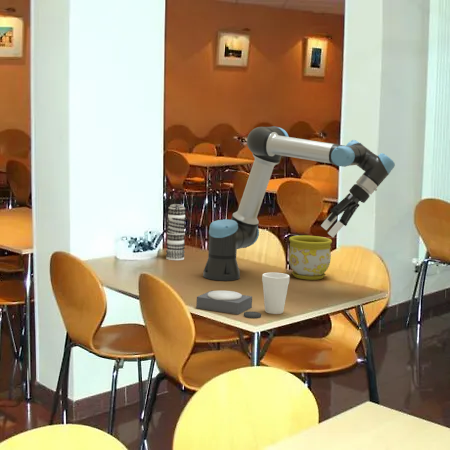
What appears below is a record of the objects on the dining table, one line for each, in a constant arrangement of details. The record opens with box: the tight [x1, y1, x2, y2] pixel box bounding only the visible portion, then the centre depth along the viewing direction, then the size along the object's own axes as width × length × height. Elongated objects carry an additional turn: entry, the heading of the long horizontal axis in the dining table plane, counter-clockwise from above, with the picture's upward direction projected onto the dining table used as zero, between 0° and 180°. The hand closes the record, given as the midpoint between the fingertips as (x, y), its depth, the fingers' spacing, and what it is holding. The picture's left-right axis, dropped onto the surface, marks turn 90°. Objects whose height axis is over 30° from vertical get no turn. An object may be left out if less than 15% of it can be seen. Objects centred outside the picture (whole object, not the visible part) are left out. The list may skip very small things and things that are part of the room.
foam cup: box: [261, 272, 291, 315], centre depth 287 cm, size 10×9×13 cm
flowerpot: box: [287, 235, 333, 281], centre depth 349 cm, size 18×18×16 cm
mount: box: [196, 290, 253, 315], centre depth 291 cm, size 16×12×5 cm
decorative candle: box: [165, 203, 187, 261], centre depth 376 cm, size 9×9×25 cm
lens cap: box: [243, 310, 262, 319], centre depth 281 cm, size 6×6×1 cm
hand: (326, 231), depth 315 cm, fingers open, 13 cm apart
